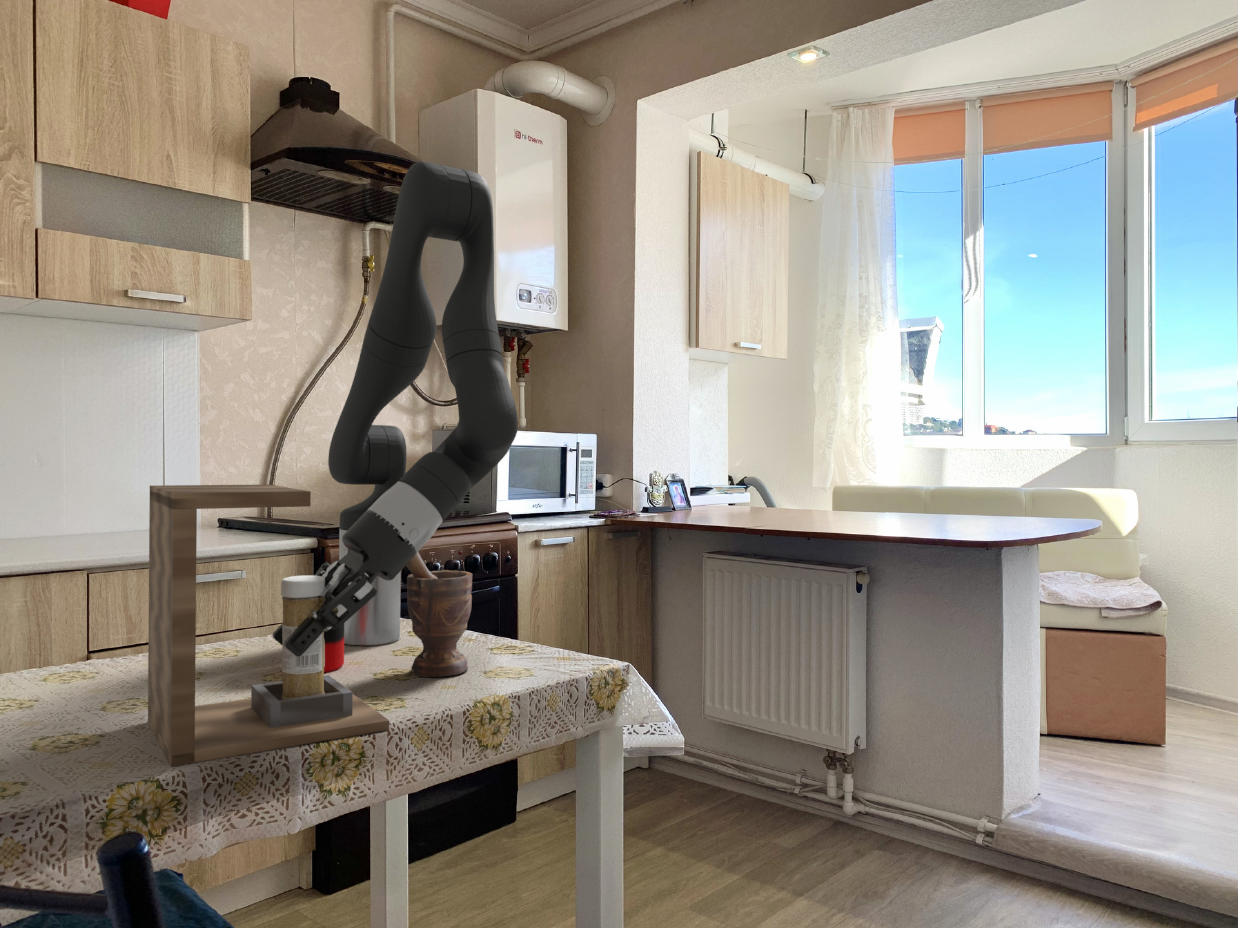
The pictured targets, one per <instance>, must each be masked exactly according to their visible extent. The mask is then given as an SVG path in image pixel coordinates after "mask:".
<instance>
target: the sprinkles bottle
mask: <svg viewBox="0 0 1238 928" xmlns="http://www.w3.org/2000/svg"><path fill="white" fill-rule="evenodd" d="M314 575H315V574H314ZM314 575H313V574H312V575H311V574H310V575H308V574H307V575H306V574H305V575H291V576H287V577H283V578H282V579H281V580H280V595H281V596H282V597H281V596H280V597H281V598H282V623H281V624H282V645H281V647H282V648H281V650H282V651H281V653H282V654H281V655H282V656H281V657H282V658H281V659H282V660H281V664H282V665H281V671H282V681H283V694H282V700H283V699H290V698H298V697H305V696H312V695H319V694H325V692H324V676H325V673H324V666H325V640H324V630H323V633H322V634H321V635H320V636H319V637H318V638H317V639H316V640H315V641H314V642H313V643H312V645H311V646H310V647H309V648H308V649H307V650H306V651H305V652H304V653H303V654H302V655H301V656H295V655H294V654H293V653H292V652H290V651H289V650H288V649H287V648H286V647H285V646H284V642H285V640H286V639H287V638H288V637H289V636H290V635H291V634H292V633H293V632H294V631H295V630H296V629H297V628H298V627H299V626H300V624H301V623H302V622H303V621H304V620H305V619H306V618H307V617H308V618H309V619H311V618H310V617H309V616H310V614H311V612H312V611H313V610H314V609H315V607H316V606H317V605H318V603H319V602H320V598H319V596H320V594H321V593H322V591H323V590H324V589H325V578H324V577H322V576H314Z"/></svg>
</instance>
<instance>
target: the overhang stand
mask: <svg viewBox="0 0 1238 928" xmlns="http://www.w3.org/2000/svg"><path fill="white" fill-rule="evenodd" d="M311 499H312V498H311V491H310V490H303V489H297V488H294V487H288V486H282V485H281V486H280V485H275V484H188V485H187V484H185V485H183V484H182V485H181V484H179V485H177V484H176V485H170V484H168V485H166V484H165V485H160V484H159V485H149V512H148V513H149V516H148V517H149V519H148V520H149V522H148V523H149V529H148V530H149V531H148V532H149V533H148V536H149V538H148V539H149V540H148V541H149V542H148V543H149V544H148V546H149V547H148V549H149V551H148V639H147V640H148V648H147V652H148V653H147V656H148V658H147V659H148V662H147V663H148V664H147V665H148V666H147V668H148V669H147V672H148V673H147V683H148V684H147V723H148V725H149V727H150V729H151V731H152V732H153V735H154V737H155V739H156V740H157V743H158V744H159V746H160V748H161V750H162V752H163V753H164V756H165V758H166V759H167V761H168V764H169V766H171V767H175V766H177V767H178V766H181V765H187V764H194V763H199V762H200V763H201V762H206V761H212V760H217V759H223V758H230V757H235V756H236V757H237V756H242V755H247V754H252V753H258V752H260V753H261V752H264V751H271V750H277V749H283V748H289V747H295V746H300V745H301V746H302V745H306V744H313V743H319V742H325V741H329V740H330V741H331V740H336V739H341V738H349V737H353V736H360V735H367V734H370V733H371V734H372V733H378V732H383V731H389V730H390V719H388V718H387V717H386V716H384V715H382V713H380V712H378V711H377V710H375V708H373V707H372V706H370V705H369V704H368V703H366V702H365V701H363V700H362V699H360V698H359V697H358V696H357V695H355V694H354V692H353V691H352V690H350V689H349V688H347V687H346V686H344V685H343V684H342V683H340V682H339V681H338V680H336V679H335V678H334V677H332V676H331V675H329V674H327V675H324V692H325V694H319V695H312V696H305V697H298V698H290V699H283V700H282V694H283V680H281V681H275V682H274V681H273V682H267V683H257V684H251V689H250V690H251V698H246V699H238V700H231V701H223V702H216V703H209V704H202V705H201V704H200V705H196V656H197V655H196V648H197V646H196V641H197V639H196V636H197V635H196V632H197V631H196V629H197V624H196V623H197V619H196V618H197V538H198V537H197V536H198V534H197V533H198V532H197V531H198V529H197V527H198V526H197V525H198V520H197V518H198V516H197V514H198V510H211V509H215V510H216V509H252V508H253V509H254V508H257V509H259V508H293V507H294V508H297V507H301V508H302V507H304V508H305V507H311Z"/></svg>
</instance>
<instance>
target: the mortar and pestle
mask: <svg viewBox="0 0 1238 928" xmlns="http://www.w3.org/2000/svg"><path fill="white" fill-rule="evenodd" d="M405 567H407V569H408V570H409V572H410V573H411V574H408V576H407V577H406V595H407V596H406V598H407V599H406V601H407V611H408V614H409V617H410V621H411V624H412V626H411V627H412V628H411V629H412V632H413V634H414V635H415V636H416V637H417V638H418V639H420V640H421V643H422V646H423V647H422V648H423V649H422V651H421V652H420V653H419V654H418V655H417V656H416V657H415V658H414V660H413V663H412V665H411V671H412V673H414V675H417V676H420V677H425V678H426V677H429V678H430V677H431V678H437V677H448V676H457V675H459V674H460V675H461V674H462V673H464V672H466V671H467V670H468V669H469V667H468V660H467V657H466V656H465V654H463V653H460V651H459V648H457V647H458V645H457V643H458V642H459V640H460V638H461V637H462V635H464V633H465V631H466V630H467V629H468V621H469V618H470V616H471V612H472V606H473V605H472V601H473V596H472V590H473V573H471V572H469V571H465V570H464V571H463V570H460V571H459V570H457V569H455V570H448V569H444V570H432V571H431V570H429V569H428V567H427V565H426V563H425V561H424V559H423V558H422V557H421V554H420V553H419V551H418V552H417V553H416V555H415V556H414V557H413V558H412V559H411V560H410V561H409V562H408V563H407V564H406V566H405Z"/></svg>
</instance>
